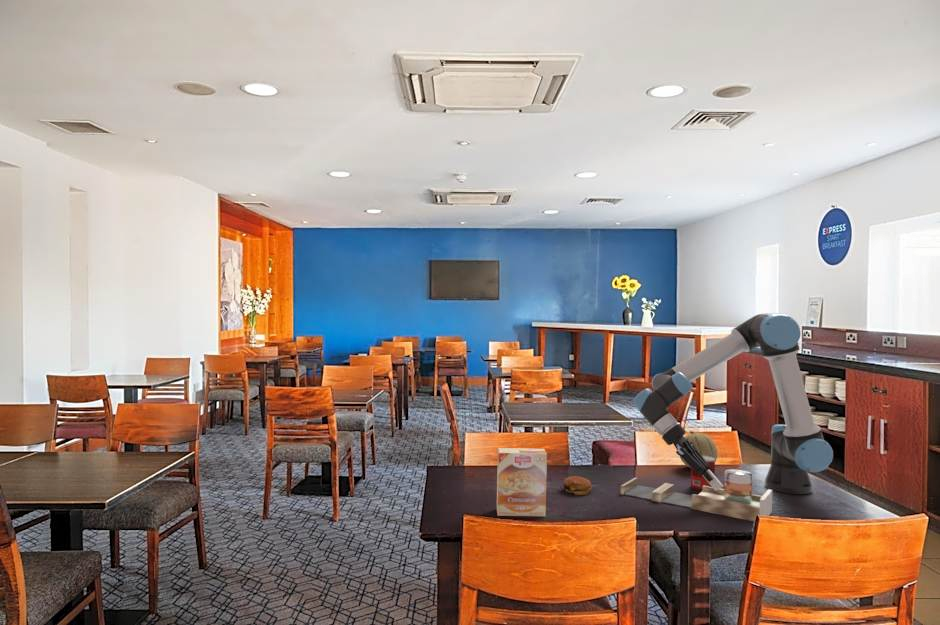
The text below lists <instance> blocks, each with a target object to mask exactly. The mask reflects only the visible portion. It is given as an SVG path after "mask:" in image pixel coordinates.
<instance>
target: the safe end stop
mask: <svg viewBox="0 0 940 625" xmlns="http://www.w3.org/2000/svg"><path fill="white" fill-rule="evenodd" d="M761 496H762V497H761V499H760V501H756V500H752V503H751V504H749V505H754V506H760V511H759V515H768V516H770V515H771V514H772V512H773V490H771V489H769V488H767V490H766V491H765V493H764V494H763V495H761Z"/></svg>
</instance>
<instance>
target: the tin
mask: <svg viewBox="0 0 940 625" xmlns="http://www.w3.org/2000/svg"><path fill="white" fill-rule="evenodd" d="M723 487H724V488H723V489H724V500H728V501H733V502H738V503H744V504H751V503H752V494H753V473H752V472H750V471H747V470H744V469H743V470H742V469H734V468H733V469H725V470H724V484H723Z"/></svg>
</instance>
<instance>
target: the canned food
mask: <svg viewBox="0 0 940 625" xmlns="http://www.w3.org/2000/svg"><path fill="white" fill-rule="evenodd" d="M703 458H704V459H705V460H706V462H707V463H708V464H709V466H711V468H709V469H710V471H711V472H712V473H713V474H714V475H715V473H716V472H715V471H716V469H715V468H716V462H715V459H714V458H712V457H709V456H703ZM709 466H708V467H709ZM715 476H716V475H715ZM703 486H709V487H712V486H711V485H710V484H709V483H708V482H707V480H706V479H705V478H704V477H703V476H702V474H701V475H700V476H699V475H698V474H697V473H696V472H695V471H694V470H693V469H692V468H690V487H691V488H692V489H693V490H696V491H701V492H702V491H703Z"/></svg>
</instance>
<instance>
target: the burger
mask: <svg viewBox="0 0 940 625" xmlns="http://www.w3.org/2000/svg"><path fill="white" fill-rule="evenodd" d="M592 488H593V486H592V483H591V481H590V480H589V479H588V478H585V477H582V476H576V475H575V476H573V475H572V476H568V477H565V478H564V480H563V489H565V491H566V493H569V494H574V495H575V496H583V495H585V496H586V495H588V494H590V492H591V491H592Z"/></svg>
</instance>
